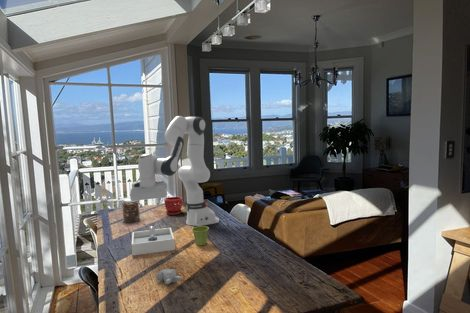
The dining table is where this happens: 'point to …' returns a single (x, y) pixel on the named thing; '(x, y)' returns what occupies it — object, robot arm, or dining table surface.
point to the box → (152, 241)
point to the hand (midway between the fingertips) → (149, 206)
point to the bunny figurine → (168, 276)
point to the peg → (152, 233)
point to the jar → (130, 210)
